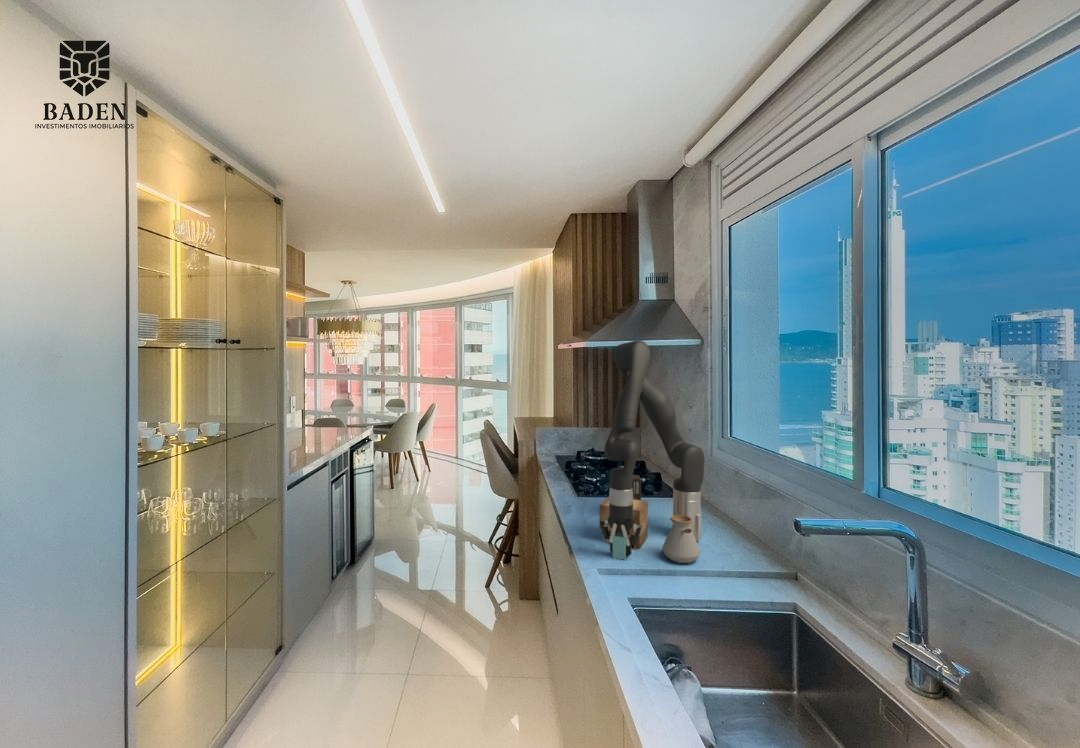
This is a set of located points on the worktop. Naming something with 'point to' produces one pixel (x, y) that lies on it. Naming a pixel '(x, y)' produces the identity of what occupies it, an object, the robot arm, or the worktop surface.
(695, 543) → the coffee pot
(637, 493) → the coffee box
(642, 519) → the cabinet
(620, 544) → the sage green eraser
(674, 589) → the worktop surface
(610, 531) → the steel token
